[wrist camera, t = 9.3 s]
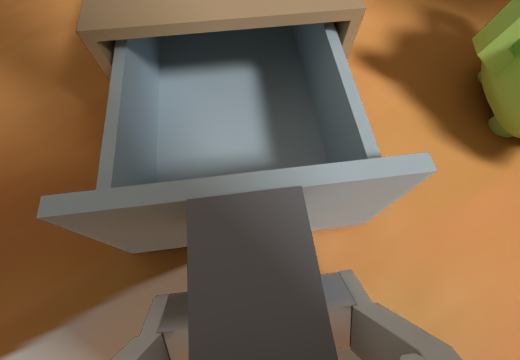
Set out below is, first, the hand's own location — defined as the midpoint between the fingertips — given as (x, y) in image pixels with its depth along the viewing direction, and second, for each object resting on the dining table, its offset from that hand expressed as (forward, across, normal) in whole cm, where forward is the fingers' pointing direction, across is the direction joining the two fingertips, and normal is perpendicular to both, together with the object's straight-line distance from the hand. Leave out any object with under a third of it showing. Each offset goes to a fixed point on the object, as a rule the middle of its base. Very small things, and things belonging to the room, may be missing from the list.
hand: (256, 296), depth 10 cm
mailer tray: (+10, 0, -2) cm, 10 cm away
